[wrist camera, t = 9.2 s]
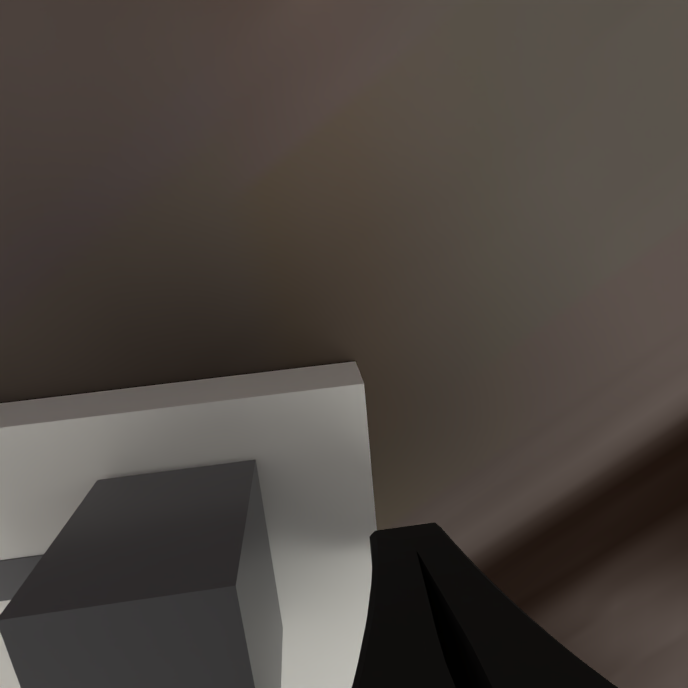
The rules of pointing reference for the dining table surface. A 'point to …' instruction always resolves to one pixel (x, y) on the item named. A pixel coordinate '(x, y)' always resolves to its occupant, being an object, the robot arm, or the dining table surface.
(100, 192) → the dining table surface
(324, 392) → the fader panel
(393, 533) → the robot arm
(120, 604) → the black fader
